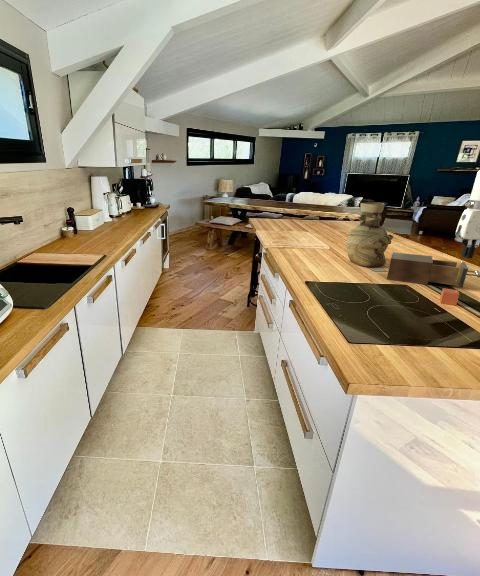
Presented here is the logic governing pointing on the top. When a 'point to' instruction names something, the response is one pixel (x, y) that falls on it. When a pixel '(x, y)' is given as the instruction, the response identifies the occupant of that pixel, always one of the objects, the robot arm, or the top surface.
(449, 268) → the drawer
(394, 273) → the cabinet
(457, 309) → the top surface
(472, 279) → the top surface
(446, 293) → the block
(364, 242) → the ceramic vessel
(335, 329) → the top surface
